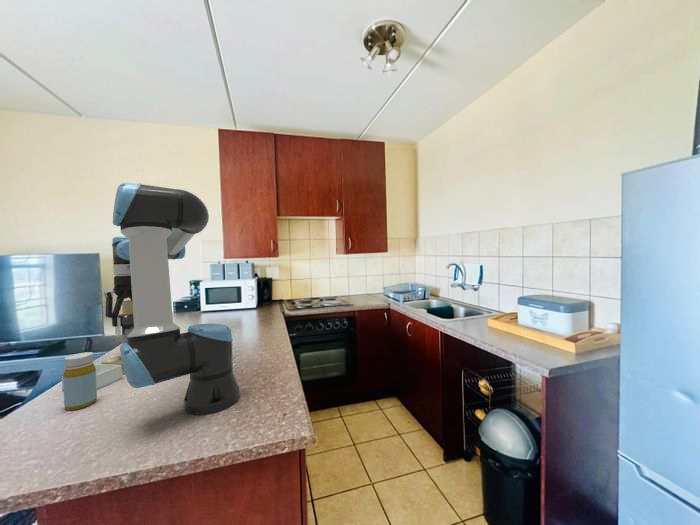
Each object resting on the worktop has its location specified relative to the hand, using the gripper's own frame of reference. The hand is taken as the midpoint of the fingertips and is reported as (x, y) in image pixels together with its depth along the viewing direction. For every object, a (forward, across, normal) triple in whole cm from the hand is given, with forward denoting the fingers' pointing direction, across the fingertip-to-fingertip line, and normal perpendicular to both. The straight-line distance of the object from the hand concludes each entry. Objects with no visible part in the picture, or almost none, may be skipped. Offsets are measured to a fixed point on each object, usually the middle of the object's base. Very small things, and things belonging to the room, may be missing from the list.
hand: (128, 332), depth 112 cm
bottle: (+15, -21, -21) cm, 33 cm away
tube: (+14, +10, +16) cm, 23 cm away
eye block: (+14, 0, 0) cm, 14 cm away
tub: (+15, -13, -7) cm, 21 cm away
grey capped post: (+8, 0, 0) cm, 8 cm away
